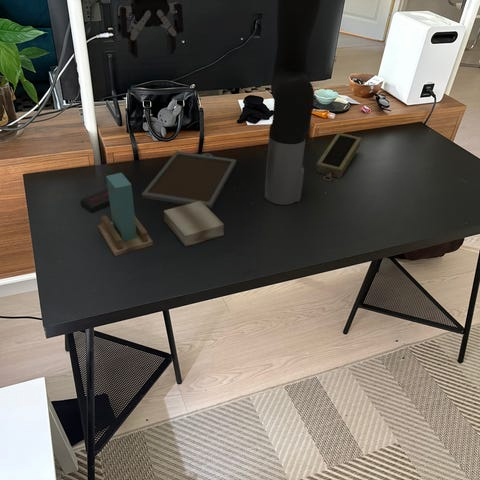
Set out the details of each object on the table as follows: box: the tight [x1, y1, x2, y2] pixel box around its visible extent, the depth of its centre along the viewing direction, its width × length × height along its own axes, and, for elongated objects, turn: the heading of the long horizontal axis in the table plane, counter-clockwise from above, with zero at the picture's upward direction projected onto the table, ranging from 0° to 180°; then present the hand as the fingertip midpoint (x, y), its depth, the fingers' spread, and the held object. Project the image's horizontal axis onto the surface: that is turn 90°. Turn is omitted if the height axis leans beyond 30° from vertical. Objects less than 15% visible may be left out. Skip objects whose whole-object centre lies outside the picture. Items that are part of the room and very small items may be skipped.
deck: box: [163, 201, 225, 247], centre depth 116 cm, size 10×12×3 cm
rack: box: [97, 215, 154, 257], centre depth 112 cm, size 9×12×4 cm
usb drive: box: [80, 188, 110, 214], centre depth 125 cm, size 5×12×3 cm, turn 136°
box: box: [315, 132, 362, 183], centre depth 146 cm, size 8×22×5 cm, turn 154°
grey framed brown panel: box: [141, 151, 237, 210], centre depth 138 cm, size 19×2×30 cm
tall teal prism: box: [105, 172, 137, 242], centre depth 108 cm, size 4×6×14 cm, turn 31°
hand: (153, 55), depth 108 cm, fingers open, 8 cm apart
